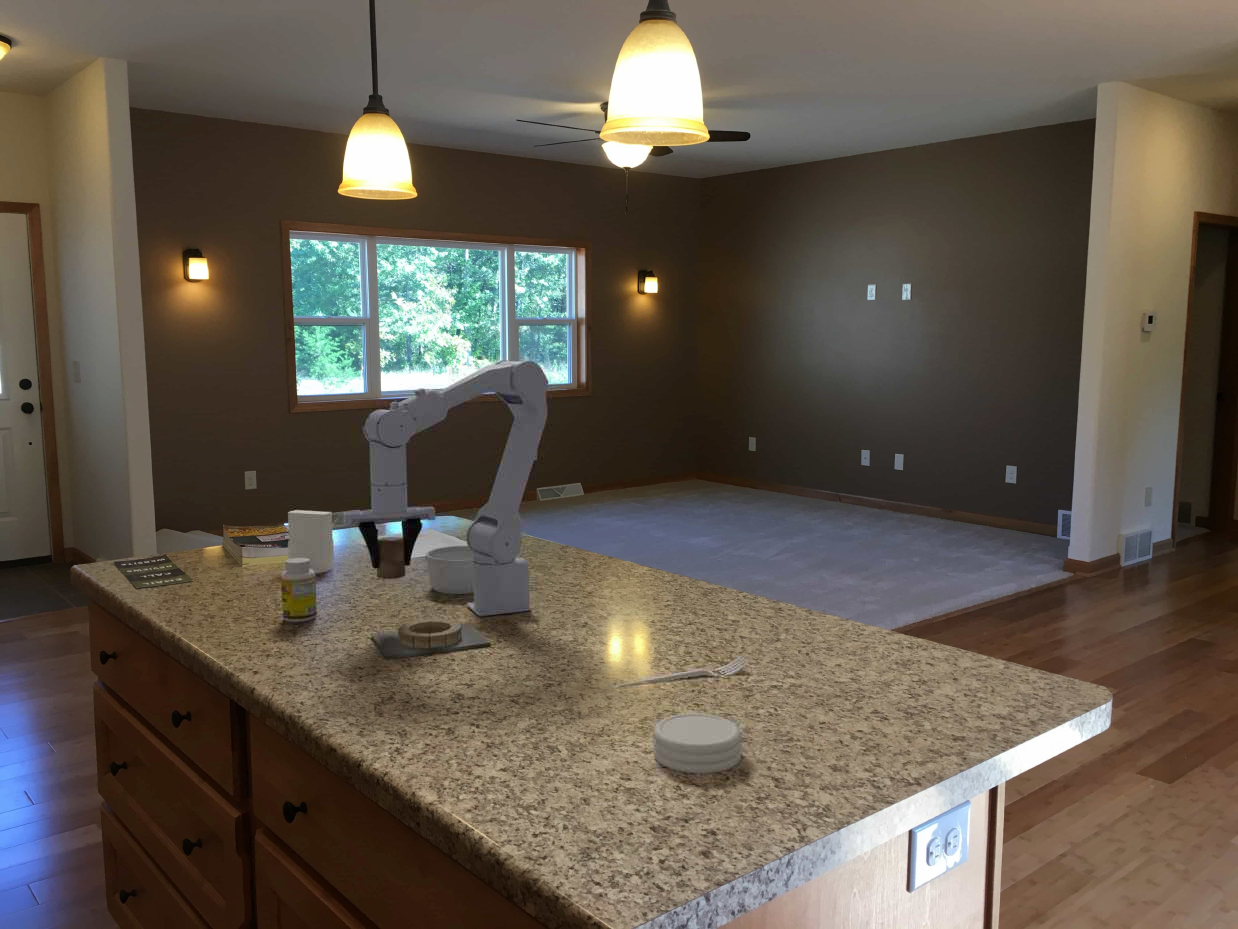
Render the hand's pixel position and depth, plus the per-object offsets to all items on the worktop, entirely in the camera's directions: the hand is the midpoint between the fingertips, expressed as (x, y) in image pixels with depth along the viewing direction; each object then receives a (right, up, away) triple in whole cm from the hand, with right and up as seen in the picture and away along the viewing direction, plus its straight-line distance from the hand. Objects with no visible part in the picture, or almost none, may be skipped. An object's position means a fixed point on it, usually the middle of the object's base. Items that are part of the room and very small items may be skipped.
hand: (391, 565), depth 160 cm
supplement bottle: (-17, -10, +6) cm, 21 cm away
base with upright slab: (-27, -5, +43) cm, 51 cm away
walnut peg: (0, -2, 0) cm, 2 cm away
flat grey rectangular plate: (+8, -11, -6) cm, 15 cm away
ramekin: (+7, -7, +28) cm, 30 cm away
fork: (+46, -14, -23) cm, 53 cm away
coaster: (+46, -17, -49) cm, 69 cm away
